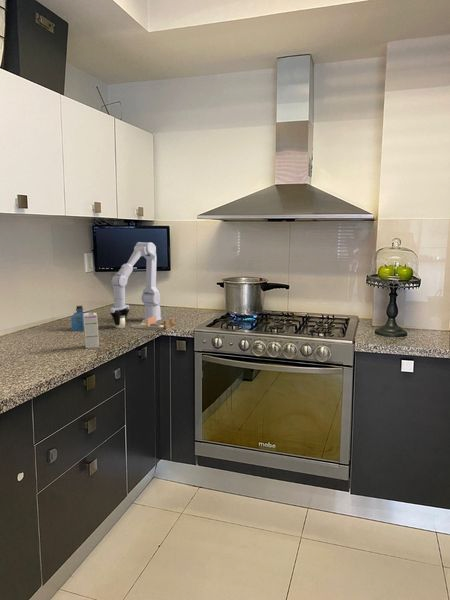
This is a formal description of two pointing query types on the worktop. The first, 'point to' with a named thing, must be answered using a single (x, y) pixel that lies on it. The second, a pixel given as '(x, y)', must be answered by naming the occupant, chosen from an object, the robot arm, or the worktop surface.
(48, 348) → the worktop surface
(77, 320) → the perfume bottle
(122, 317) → the jar
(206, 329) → the worktop surface
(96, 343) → the syrup box
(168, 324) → the lane
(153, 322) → the pusher
